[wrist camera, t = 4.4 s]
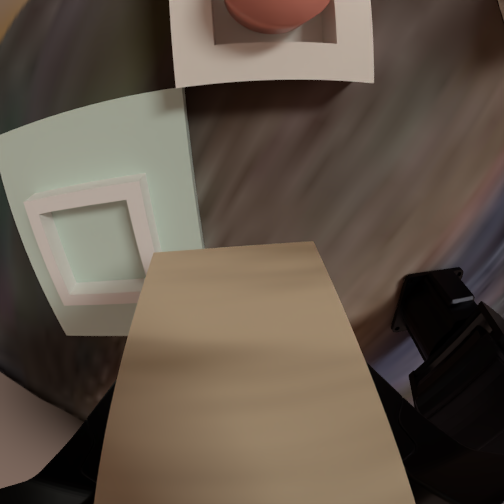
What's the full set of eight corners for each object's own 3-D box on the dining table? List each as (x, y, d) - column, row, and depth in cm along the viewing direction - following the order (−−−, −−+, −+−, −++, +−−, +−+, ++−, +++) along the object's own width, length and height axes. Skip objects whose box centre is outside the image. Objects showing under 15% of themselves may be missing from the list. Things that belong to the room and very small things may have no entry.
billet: (303, 347, 13) (346, 538, 6) (181, 356, 12) (171, 551, 6) (313, 241, 10) (415, 504, 3) (153, 252, 10) (91, 526, 3)
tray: (217, 323, 26) (216, 346, 23) (69, 328, 25) (61, 347, 23) (184, 86, 16) (177, 87, 14) (0, 134, 16) (-21, 144, 14)
